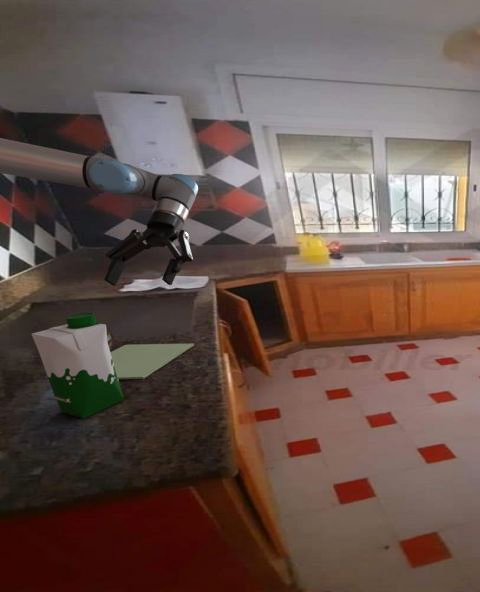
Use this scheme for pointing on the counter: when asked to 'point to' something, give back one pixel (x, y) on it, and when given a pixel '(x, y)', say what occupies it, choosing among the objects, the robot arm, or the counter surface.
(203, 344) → the counter surface
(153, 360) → the mat
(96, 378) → the soya milk
